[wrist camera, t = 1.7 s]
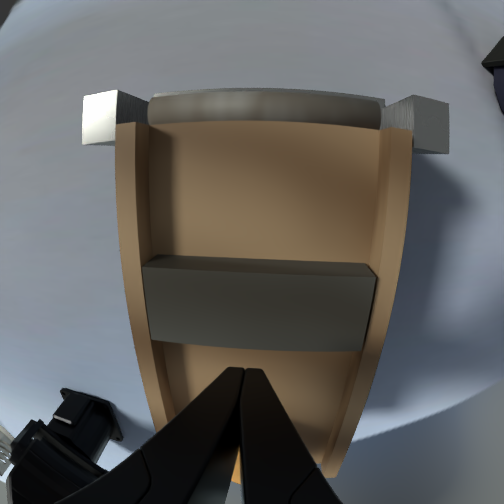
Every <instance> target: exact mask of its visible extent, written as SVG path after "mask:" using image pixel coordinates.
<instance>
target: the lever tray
mask: <svg viewBox="0 0 504 504" xmlns="http://www.w3.org/2000/svg"><path fill="white" fill-rule="evenodd" d="M148 122H149V125H146V124H142V123H138V122H131V123H123V124H116V128H115V179H116V204H117V220H118V233H119V244H120V254H121V263H122V272H123V280H124V287H125V294H126V301H127V307H128V313H129V319H130V325H131V330H132V335H133V341H134V346H135V351H136V355H137V360H138V364H139V369H140V373H141V377H142V382H143V386H144V390H145V394H146V397H147V401H148V405H149V409H150V412H151V416H152V419H153V423H154V426H155V429H156V433H157V432H158V431H159V430H160V429H162V428H163V427H164V426H165V425H166V424H167V423H168V422H169V421H171V420H172V419H173V418H174V417H175V416H176V415H177V414H178V413H179V412H181V411H182V410H183V409H184V408H185V407H186V406H187V405H188V404H189V403H190V402H191V401H192V400H194V399H195V398H196V397H197V396H198V395H199V394H200V393H201V392H202V391H203V390H204V389H205V388H206V387H207V386H208V385H209V384H210V383H212V382H213V381H214V380H215V379H216V378H217V377H218V376H219V375H220V374H221V373H222V372H223V371H224V370H225V369H226V368H227V367H230V366H231V367H243V368H244V369H246V368H260V369H263V371H264V372H265V374H266V376H267V378H268V380H269V382H270V383H271V385H272V387H273V389H274V391H275V393H276V394H277V396H278V398H279V400H280V402H281V403H282V405H283V407H284V409H285V410H286V412H287V414H288V416H289V418H290V419H291V421H292V423H293V425H294V426H295V428H296V430H297V432H298V433H299V435H300V437H301V439H302V440H303V442H304V444H305V445H306V447H307V449H308V451H309V452H310V454H311V456H312V457H313V459H314V461H315V462H316V463H321V467H322V474H323V475H324V477H325V478H333V477H336V475H337V473H338V471H339V469H340V467H341V464H342V462H343V459H344V457H345V455H346V453H347V450H348V448H349V445H350V443H351V441H352V438H353V436H354V433H355V431H356V428H357V425H358V423H359V420H360V417H361V415H362V412H363V409H364V406H365V403H366V400H367V397H368V394H369V391H370V388H371V385H372V382H373V379H374V376H375V372H376V369H377V366H378V362H379V359H380V355H381V351H382V348H383V344H384V340H385V336H386V332H387V328H388V324H389V320H390V316H391V311H392V307H393V302H394V297H395V292H396V287H397V282H398V277H399V271H400V265H401V259H402V253H403V246H404V239H405V231H406V223H407V214H408V205H409V194H410V180H411V163H412V131H411V130H406V129H400V128H394V127H389V128H385V129H382V130H379V129H380V125H381V108H380V105H379V103H378V102H377V101H372V100H366V99H358V98H351V97H342V96H333V95H323V94H310V93H294V92H267V91H235V92H207V93H192V94H179V95H169V96H159V97H153V98H151V100H150V102H149V105H148Z"/></svg>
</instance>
